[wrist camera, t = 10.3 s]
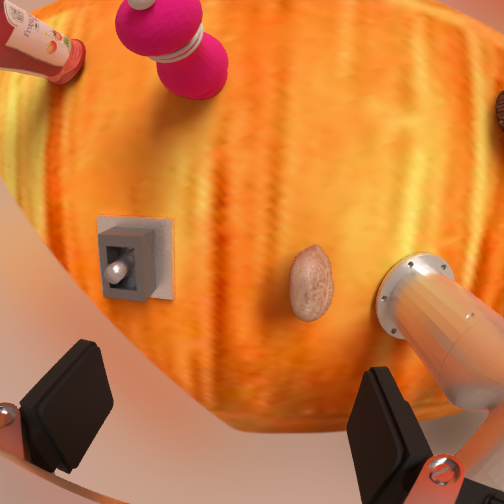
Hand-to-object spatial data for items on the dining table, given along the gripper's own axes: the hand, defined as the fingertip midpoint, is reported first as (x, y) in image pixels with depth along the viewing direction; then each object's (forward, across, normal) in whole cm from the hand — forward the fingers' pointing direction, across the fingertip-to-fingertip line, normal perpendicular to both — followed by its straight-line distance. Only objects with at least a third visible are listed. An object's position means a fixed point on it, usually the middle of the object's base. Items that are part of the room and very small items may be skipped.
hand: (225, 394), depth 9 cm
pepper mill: (+26, +8, -18) cm, 33 cm away
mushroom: (+27, -6, +4) cm, 28 cm away
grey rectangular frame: (+25, +15, +4) cm, 29 cm away
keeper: (+26, +15, +4) cm, 30 cm away
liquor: (+26, +26, -23) cm, 43 cm away
